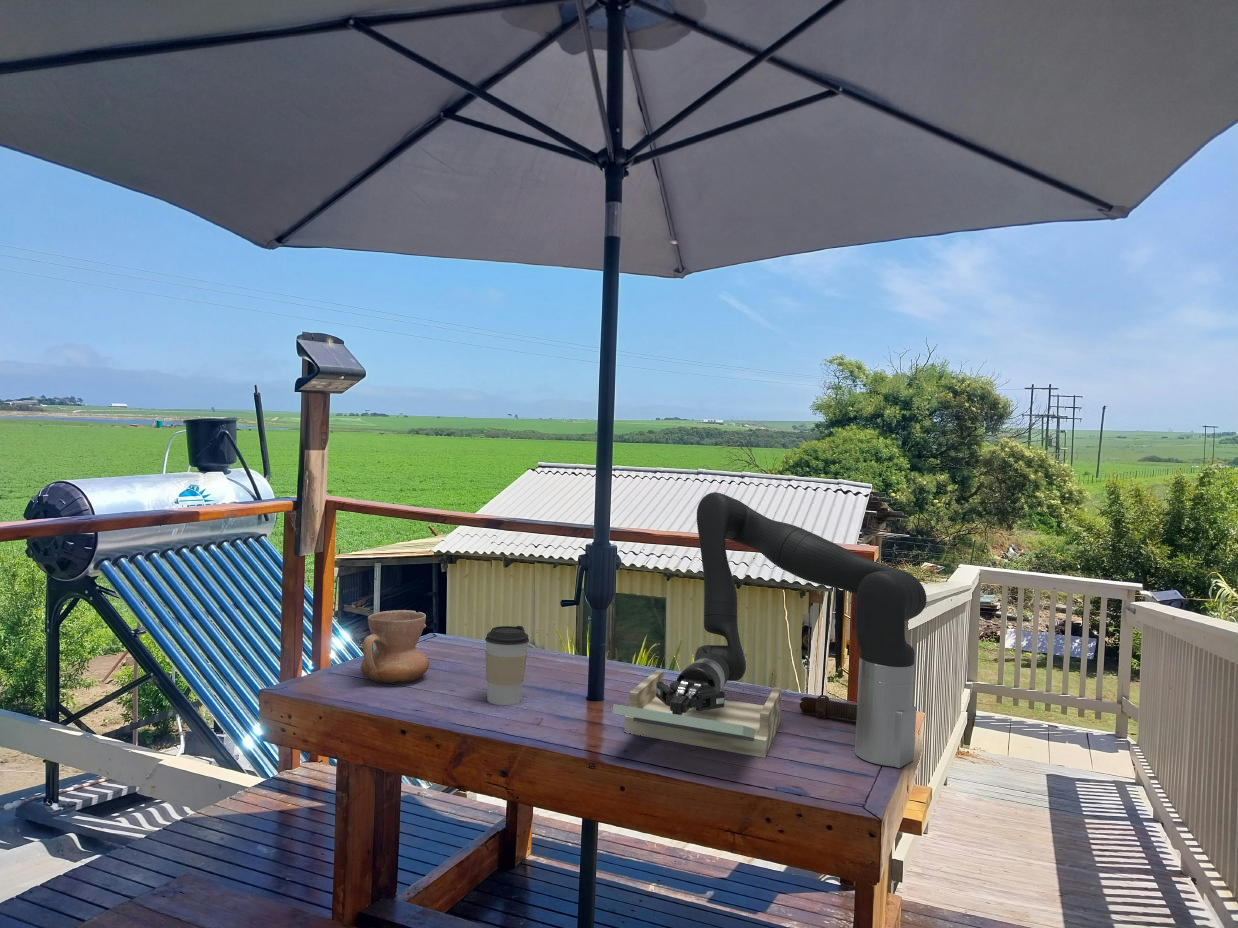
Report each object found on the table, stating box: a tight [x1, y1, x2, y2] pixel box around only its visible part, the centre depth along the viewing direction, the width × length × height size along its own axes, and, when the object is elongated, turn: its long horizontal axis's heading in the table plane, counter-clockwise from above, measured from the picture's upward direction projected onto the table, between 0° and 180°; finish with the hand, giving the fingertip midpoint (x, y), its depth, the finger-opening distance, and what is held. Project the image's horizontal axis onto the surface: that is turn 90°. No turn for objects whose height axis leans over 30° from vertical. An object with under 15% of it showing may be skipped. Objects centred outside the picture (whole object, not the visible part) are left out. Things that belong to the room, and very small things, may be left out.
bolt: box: [799, 694, 857, 722], centre depth 153 cm, size 6×5×15 cm
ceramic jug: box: [360, 609, 430, 684], centre depth 164 cm, size 18×14×14 cm
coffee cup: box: [484, 625, 530, 706], centre depth 154 cm, size 9×9×15 cm
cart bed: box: [623, 669, 783, 759], centre depth 143 cm, size 20×26×7 cm
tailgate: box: [611, 703, 755, 742], centre depth 128 cm, size 2×22×14 cm
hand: (676, 708), depth 122 cm, fingers closed
